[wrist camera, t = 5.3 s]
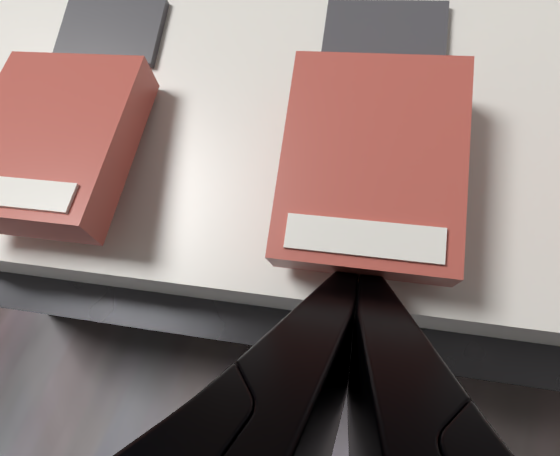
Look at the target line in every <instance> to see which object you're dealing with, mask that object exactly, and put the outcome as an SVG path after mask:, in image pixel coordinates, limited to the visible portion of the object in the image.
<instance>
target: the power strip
mask: <svg viewBox="0 0 560 456" xmlns="http://www.w3.org/2000/svg"><path fill="white" fill-rule="evenodd" d="M12 51H18V52H48V53H78V54H108V55H138V56H145V58H146V60H147V62H148V64H149V66H150V68H151V70H152V72H153V74H154V76H155V78H156V80H157V82H158V84H159V89H158V92H157V95H156V97H155V100H154V103H153V106H152V109H151V112H150V114H149V117H148V120H147V123H146V126H145V128H144V131H143V134H142V137H141V140H140V143H139V145H138V148H137V151H136V154H135V157H134V160H133V162H132V165H131V168H130V171H129V174H128V177H127V179H126V182H125V185H124V188H123V191H122V193H121V196H120V199H119V202H118V205H117V208H116V210H115V213H114V216H113V219H112V222H111V225H110V227H109V230H108V233H107V236H106V239H105V242H104V244H103V246H98V245H90V244H81V243H73V242H64V241H55V240H47V239H38V238H30V237H21V236H13V235H4V234H0V271H1V272H9V273H16V274H24V275H31V276H39V277H46V278H53V279H61V280H68V281H76V282H83V283H91V284H98V285H106V286H113V287H121V288H128V289H136V290H143V291H150V292H158V293H165V294H173V295H180V296H188V297H195V298H203V299H210V300H218V301H225V302H233V303H240V304H248V305H255V306H262V307H270V308H277V309H285V310H293V309H294V308H295V307H297V306H298V305H299V304H300V303H301V302H302V301H303V300H304V299H305V298H307V297H308V296H309V295H310V294H311V293H312V292H313V291H314V290H315V289H317V288H318V287H319V286H320V285H321V284H322V283H323V282H324V281H325V280H326V279H328V278H329V277H330V276H331V275H332V274H333V273H325V272H316V271H308V270H299V269H291V268H282V267H274V266H273V265H272V264H271V263H270V262H269V261H268V260H267V259H266V258H265V253H266V247H267V240H268V234H269V227H270V220H271V214H272V207H273V200H274V194H275V187H276V181H277V174H278V167H279V161H280V154H281V147H282V141H283V134H284V127H285V121H286V114H287V108H288V101H289V94H290V88H291V81H292V74H293V68H294V61H295V55H296V51H318V52H352V53H386V54H420V55H454V56H474V76H473V96H472V117H471V137H470V157H469V178H468V198H467V219H466V239H465V260H464V280H463V281H461V282H460V283H458V284H456V285H455V286H453V287H444V286H436V285H427V284H419V283H410V282H402V281H393V280H386V282H387V283H388V284H389V286H390V287H391V289H392V290H393V291H394V293H395V294H396V296H397V297H398V298H399V300H400V301H401V302H402V304H403V305H404V307H405V308H406V309H407V311H408V312H409V314H410V315H411V316H412V318H413V319H414V321H415V322H416V323H417V325H418V326H419V327H420V328H427V329H434V330H442V331H449V332H457V333H464V334H471V335H479V336H486V337H494V338H501V339H509V340H516V341H524V342H531V343H539V344H546V345H554V346H560V0H0V72H1V70H2V68H3V67H4V65H5V63H6V61H7V59H8V57H9V56H10V54H11V52H12ZM358 281H359V278H358ZM357 290H358V289H357ZM356 300H357V299H356ZM354 319H355V318H354Z"/></svg>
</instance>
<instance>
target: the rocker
mask: <svg viewBox="0 0 560 456" xmlns="http://www.w3.org/2000/svg"><path fill="white" fill-rule="evenodd" d="M158 89H159V84H158V82H157V80H156V78H155V76H154V74H153V72H152V70H151V68H150V66H149V64H148V62H147V60H146V58H145V56H138V55H108V54H78V53H48V52H18V51H12V52H11V54H10V56H9V57H8V59H7V61H6V63H5V65H4V67H3V68H2V70H1V72H0V234H4V235H13V236H21V237H30V238H38V239H47V240H55V241H64V242H73V243H81V244H90V245H98V246H103V244H104V242H105V239H106V236H107V233H108V230H109V227H110V225H111V222H112V219H113V216H114V213H115V210H116V208H117V205H118V202H119V199H120V196H121V193H122V191H123V188H124V185H125V182H126V179H127V177H128V174H129V171H130V168H131V165H132V162H133V160H134V157H135V154H136V151H137V148H138V145H139V143H140V140H141V137H142V134H143V131H144V128H145V126H146V123H147V120H148V117H149V114H150V112H151V109H152V106H153V103H154V100H155V97H156V95H157V92H158Z"/></svg>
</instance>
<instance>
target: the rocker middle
mask: <svg viewBox="0 0 560 456" xmlns="http://www.w3.org/2000/svg"><path fill="white" fill-rule="evenodd" d="M473 76H474V56H454V55H420V54H386V53H352V52H318V51H296V55H295V61H294V68H293V74H292V81H291V88H290V94H289V101H288V108H287V114H286V121H285V127H284V134H283V141H282V147H281V154H280V161H279V167H278V174H277V181H276V187H275V194H274V200H273V207H272V214H271V220H270V227H269V234H268V240H267V247H266V253H265V258H266V259H267V260H268V261H269V262H270V263H271V264H272V265H273V266H274V267H282V268H291V269H299V270H308V271H316V272H325V273H334V272H336V271H339V272H348V273H356V274H358V276H360V274H365V275H374V276H382V277H383V278H384V279H385V280H393V281H402V282H410V283H419V284H427V285H436V286H444V287H453V286H455V285H456V284H458V283H460V282H461V281H463V280H464V260H465V239H466V219H467V198H468V178H469V157H470V137H471V117H472V96H473Z"/></svg>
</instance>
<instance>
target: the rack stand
mask: <svg viewBox="0 0 560 456" xmlns="http://www.w3.org/2000/svg"><path fill="white" fill-rule="evenodd" d="M0 307H1V308H8V309H15V310H21V311H28V312H34V313H41V314H48V315H54V316H61V317H68V318H74V319H81V320H88V321H94V322H101V323H108V324H114V325H121V326H128V327H134V328H141V329H148V330H154V331H161V332H167V333H174V334H181V335H187V336H194V337H201V338H207V339H214V340H221V341H227V342H234V343H241V344H247V345H254V344H255V343H257V342H258V341H259V340H260V339H261V338H262V337H263V336H264V335H265V334H267V333H268V332H269V331H270V330H271V329H272V328H273V327H274V326H275V325H277V324H278V323H279V322H280V321H281V320H282V319H283V318H284V317H285V316H287V315H288V314H289V313H290V312H291V311H292V310H285V309H277V308H270V307H262V306H255V305H248V304H240V303H233V302H225V301H218V300H210V299H203V298H195V297H188V296H180V295H173V294H165V293H158V292H150V291H143V290H136V289H128V288H121V287H113V286H106V285H98V284H91V283H83V282H76V281H68V280H61V279H53V278H46V277H39V276H31V275H24V274H16V273H9V272H1V271H0ZM353 329H354V328H353ZM420 329H421V330H422V332H423V333H424V334H425V336H426V337H427V339H428V340H429V341H430V343H431V344H432V345H433V347H434V348H435V350H436V351H437V352H438V354H439V355H440V357H441V358H442V359H443V361H444V362H445V363H446V365H447V366H448V368H449V369H450V370H451V372H452V373H453V375H454V376H460V377H467V378H473V379H480V380H487V381H493V382H500V383H507V384H513V385H520V386H527V387H533V388H540V389H547V390H553V391H560V346H554V345H546V344H539V343H531V342H524V341H516V340H509V339H501V338H494V337H486V336H479V335H471V334H464V333H457V332H449V331H442V330H434V329H427V328H420ZM352 339H353V338H352ZM351 349H352V347H351ZM350 359H351V357H350Z"/></svg>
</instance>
